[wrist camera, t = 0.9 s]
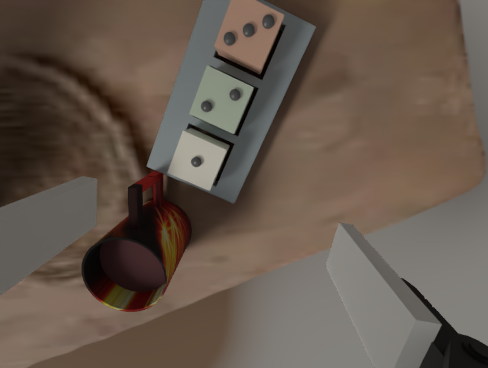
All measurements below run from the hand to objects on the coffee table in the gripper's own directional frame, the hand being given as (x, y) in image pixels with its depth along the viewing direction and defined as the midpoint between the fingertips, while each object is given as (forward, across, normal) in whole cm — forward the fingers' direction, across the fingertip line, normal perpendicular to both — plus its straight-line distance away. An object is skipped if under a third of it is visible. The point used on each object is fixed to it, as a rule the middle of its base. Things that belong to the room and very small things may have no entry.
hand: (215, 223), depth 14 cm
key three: (+21, -1, +14) cm, 25 cm away
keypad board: (+23, -3, +7) cm, 24 cm away
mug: (+24, -11, -12) cm, 29 cm away
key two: (+21, -3, +7) cm, 22 cm away
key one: (+21, -5, -1) cm, 22 cm away
